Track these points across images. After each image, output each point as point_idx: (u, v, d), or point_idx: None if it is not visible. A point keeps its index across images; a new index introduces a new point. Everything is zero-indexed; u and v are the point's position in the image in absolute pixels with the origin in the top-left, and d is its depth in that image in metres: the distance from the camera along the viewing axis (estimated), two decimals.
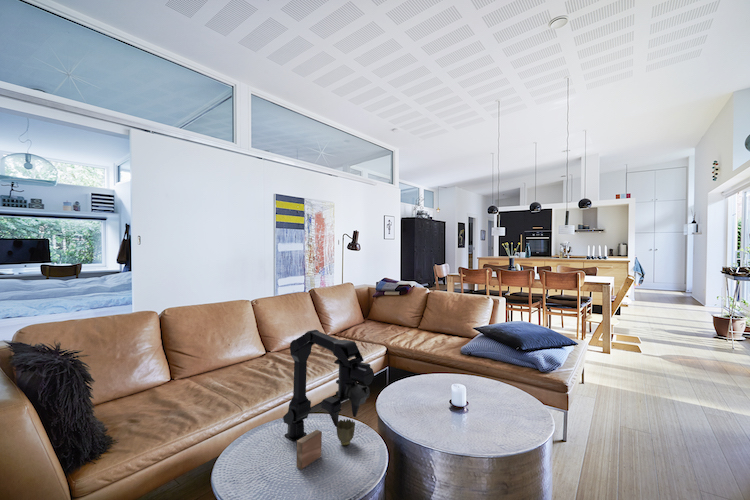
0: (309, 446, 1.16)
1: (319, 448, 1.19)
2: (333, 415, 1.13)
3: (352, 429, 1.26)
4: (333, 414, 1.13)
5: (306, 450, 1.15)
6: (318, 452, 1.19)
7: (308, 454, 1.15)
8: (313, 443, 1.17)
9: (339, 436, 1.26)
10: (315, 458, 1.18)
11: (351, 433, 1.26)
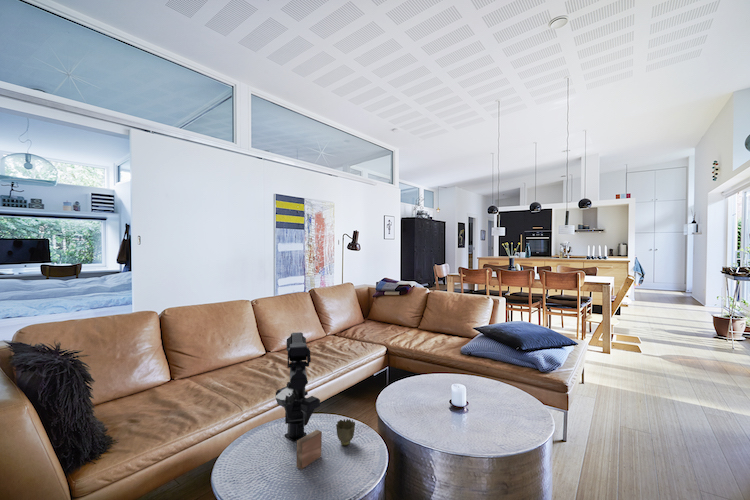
0: (309, 446, 1.16)
1: (319, 447, 1.19)
2: None
3: (352, 429, 1.26)
4: None
5: (306, 450, 1.15)
6: (318, 452, 1.19)
7: (308, 454, 1.15)
8: (313, 443, 1.17)
9: (339, 436, 1.26)
10: (315, 458, 1.18)
11: (351, 433, 1.26)
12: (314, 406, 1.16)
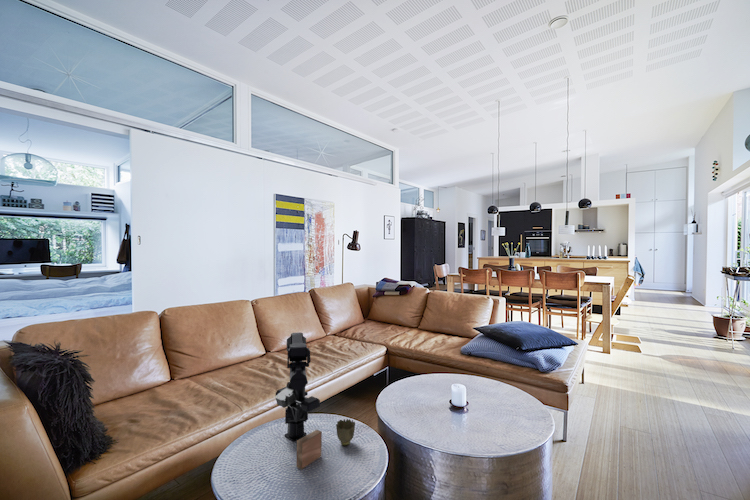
0: (309, 446, 1.16)
1: (319, 448, 1.19)
2: None
3: (352, 429, 1.26)
4: None
5: (306, 450, 1.15)
6: (318, 452, 1.19)
7: (308, 454, 1.15)
8: (313, 443, 1.17)
9: (339, 436, 1.26)
10: (315, 458, 1.18)
11: (351, 433, 1.26)
12: (314, 406, 1.16)
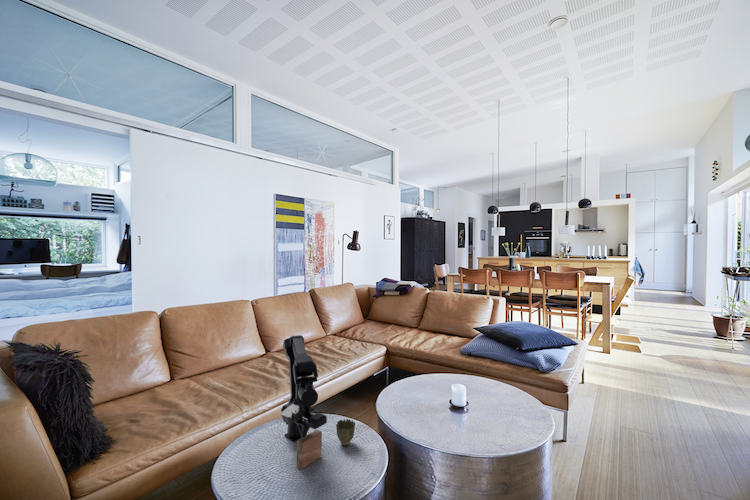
0: (309, 446, 1.16)
1: (319, 448, 1.19)
2: None
3: (352, 429, 1.26)
4: None
5: (306, 450, 1.15)
6: (318, 452, 1.19)
7: (308, 454, 1.15)
8: (313, 443, 1.17)
9: (339, 436, 1.26)
10: (315, 458, 1.18)
11: (351, 433, 1.26)
12: (321, 423, 1.14)
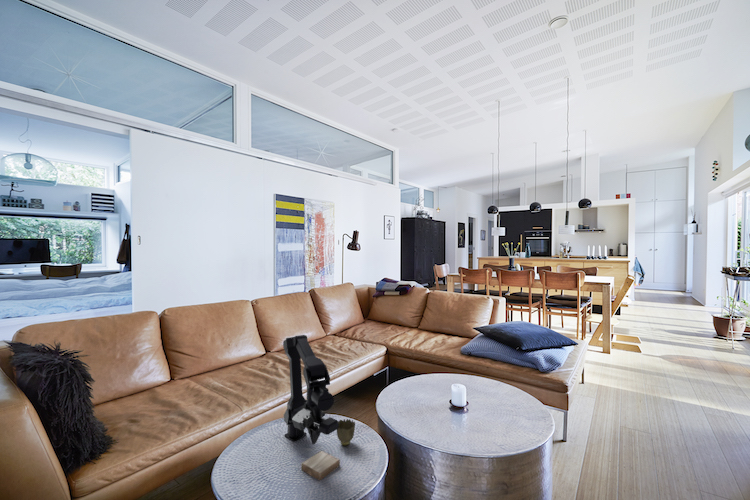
0: None
1: None
2: None
3: (352, 429, 1.26)
4: None
5: None
6: None
7: None
8: None
9: (339, 436, 1.26)
10: None
11: (351, 433, 1.26)
12: (333, 429, 1.10)
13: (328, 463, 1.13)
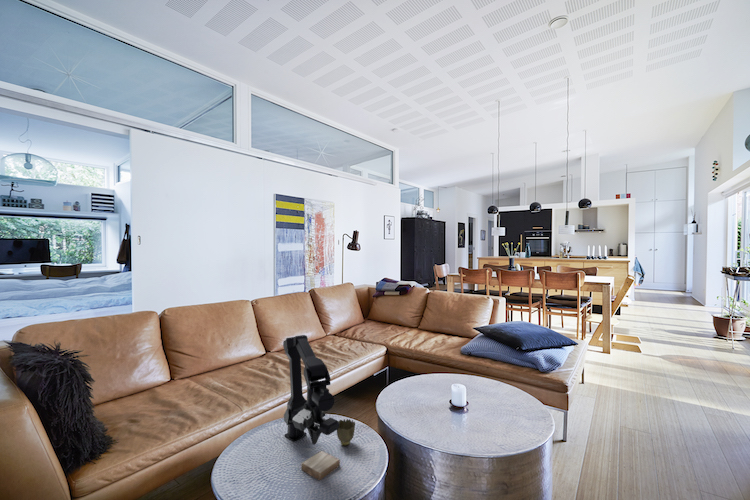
0: None
1: None
2: None
3: (352, 429, 1.26)
4: None
5: None
6: None
7: None
8: None
9: (339, 436, 1.26)
10: None
11: (351, 433, 1.26)
12: (333, 429, 1.10)
13: (328, 463, 1.13)
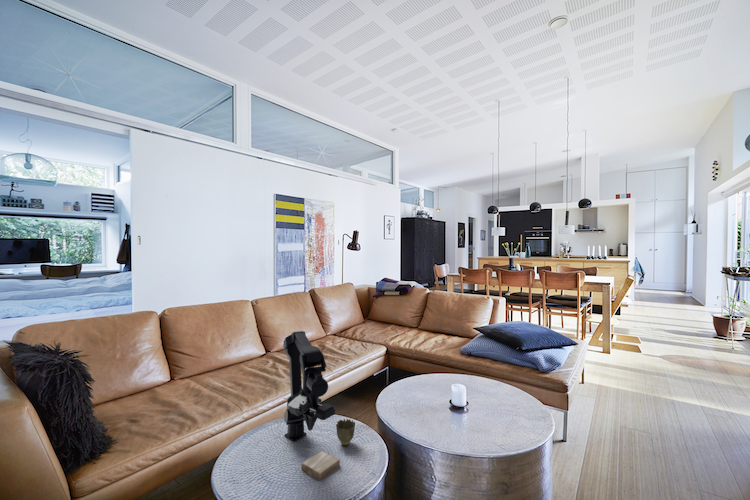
0: None
1: None
2: None
3: (352, 429, 1.26)
4: None
5: None
6: None
7: None
8: None
9: (339, 436, 1.26)
10: None
11: (351, 433, 1.26)
12: (329, 414, 1.11)
13: (328, 463, 1.13)
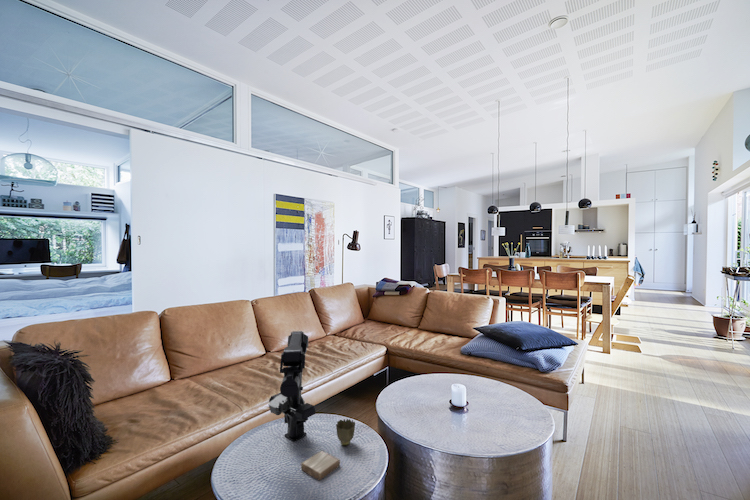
0: None
1: None
2: None
3: (352, 429, 1.26)
4: None
5: None
6: None
7: None
8: None
9: (339, 436, 1.26)
10: None
11: (351, 433, 1.26)
12: (309, 414, 1.10)
13: (328, 463, 1.13)
